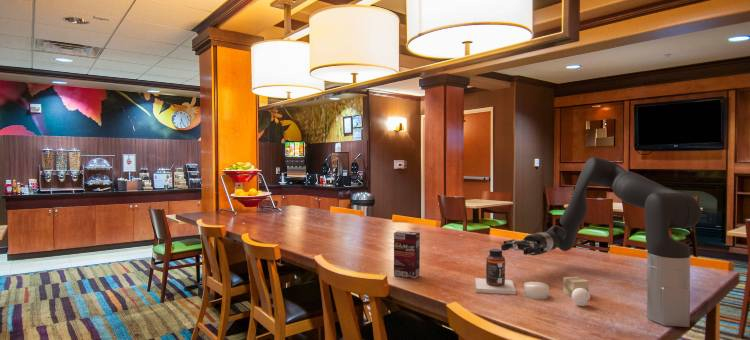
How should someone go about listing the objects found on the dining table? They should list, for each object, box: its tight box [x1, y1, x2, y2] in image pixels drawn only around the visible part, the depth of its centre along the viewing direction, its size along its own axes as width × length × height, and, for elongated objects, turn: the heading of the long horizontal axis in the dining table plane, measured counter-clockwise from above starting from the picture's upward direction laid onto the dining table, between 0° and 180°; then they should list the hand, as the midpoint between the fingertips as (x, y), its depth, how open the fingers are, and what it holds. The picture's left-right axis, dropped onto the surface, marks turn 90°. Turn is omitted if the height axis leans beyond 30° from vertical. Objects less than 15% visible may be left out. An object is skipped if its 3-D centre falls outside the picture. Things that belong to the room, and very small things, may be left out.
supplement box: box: [393, 230, 421, 279], centre depth 156 cm, size 9×5×16 cm, turn 65°
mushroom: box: [571, 288, 591, 307], centre depth 124 cm, size 5×5×5 cm
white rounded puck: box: [523, 281, 550, 300], centre depth 133 cm, size 7×7×4 cm
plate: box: [474, 277, 517, 295], centre depth 141 cm, size 12×12×1 cm
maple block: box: [562, 276, 589, 298], centre depth 133 cm, size 5×5×5 cm
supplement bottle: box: [485, 248, 506, 286], centre depth 141 cm, size 6×6×11 cm
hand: (513, 249), depth 148 cm, fingers open, 8 cm apart
